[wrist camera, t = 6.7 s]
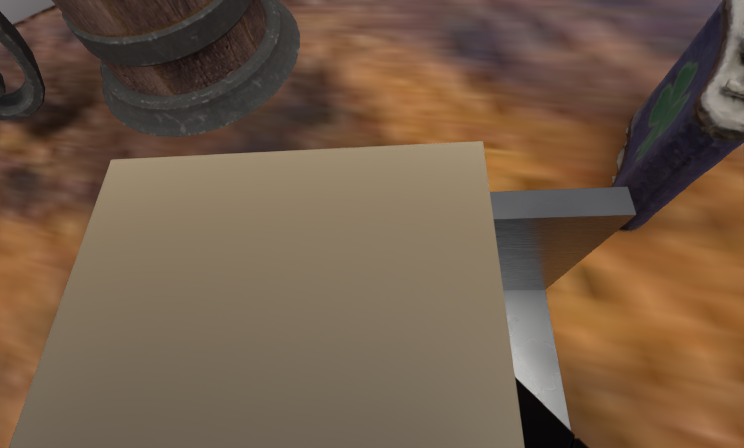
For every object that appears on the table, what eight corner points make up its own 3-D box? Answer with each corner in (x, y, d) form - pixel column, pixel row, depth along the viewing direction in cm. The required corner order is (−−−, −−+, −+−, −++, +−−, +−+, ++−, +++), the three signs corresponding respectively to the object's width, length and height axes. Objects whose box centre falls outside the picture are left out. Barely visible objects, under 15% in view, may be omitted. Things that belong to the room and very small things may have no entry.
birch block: (433, 477, 12) (625, 1188, 1) (340, 474, 12) (-201, 1034, 1) (427, 345, 14) (483, 141, 3) (345, 345, 14) (112, 159, 3)
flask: (632, 109, 25) (768, -71, 16) (680, 123, 25) (856, -56, 15) (592, 222, 22) (731, 87, 13) (645, 242, 22) (838, 115, 12)
